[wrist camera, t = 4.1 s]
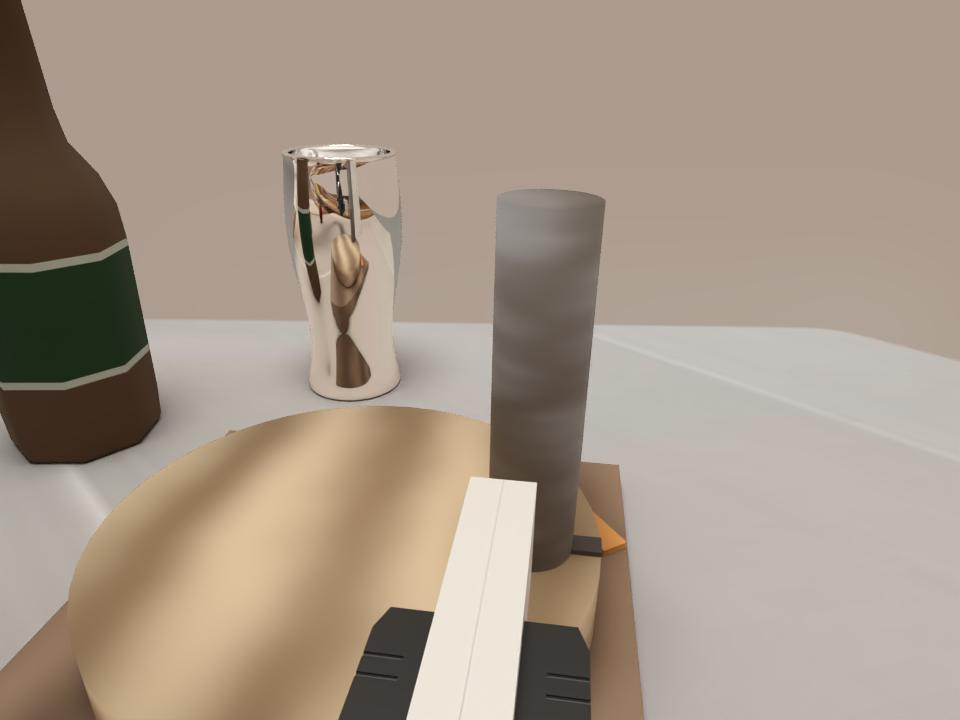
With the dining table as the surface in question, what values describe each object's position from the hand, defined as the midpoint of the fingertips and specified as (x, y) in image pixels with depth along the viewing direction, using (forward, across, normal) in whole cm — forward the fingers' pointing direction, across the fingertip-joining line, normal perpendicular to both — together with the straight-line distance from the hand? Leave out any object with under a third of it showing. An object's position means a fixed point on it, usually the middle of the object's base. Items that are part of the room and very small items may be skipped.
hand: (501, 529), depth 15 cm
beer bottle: (+17, -26, -10) cm, 33 cm away
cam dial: (+6, -6, -9) cm, 12 cm away
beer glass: (+26, -12, -10) cm, 31 cm away
